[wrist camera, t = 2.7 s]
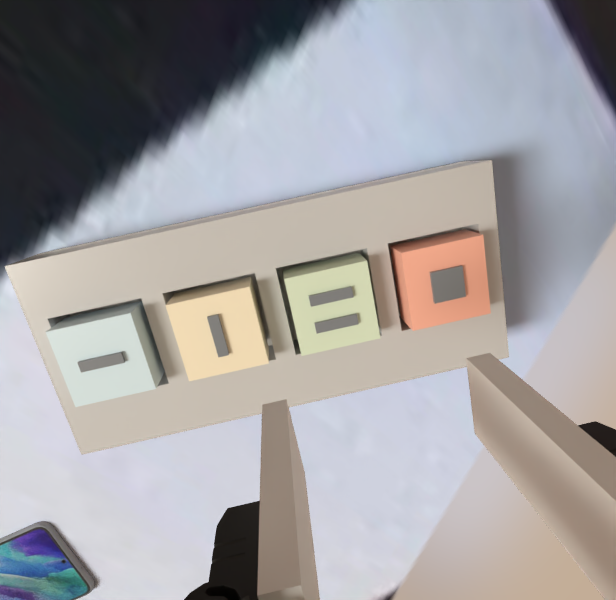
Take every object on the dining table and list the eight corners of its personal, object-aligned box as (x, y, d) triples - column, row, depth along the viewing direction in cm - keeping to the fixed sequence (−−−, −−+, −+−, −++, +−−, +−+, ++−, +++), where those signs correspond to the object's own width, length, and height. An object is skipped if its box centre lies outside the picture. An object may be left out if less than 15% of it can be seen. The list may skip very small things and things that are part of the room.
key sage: (298, 340, 28) (301, 357, 26) (282, 269, 27) (284, 279, 24) (371, 324, 28) (381, 339, 26) (358, 252, 27) (367, 261, 25)
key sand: (195, 364, 28) (188, 383, 26) (174, 293, 27) (164, 306, 24) (268, 347, 28) (268, 364, 26) (251, 276, 27) (249, 287, 24)
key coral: (401, 317, 28) (413, 332, 26) (389, 245, 27) (402, 253, 25) (472, 301, 29) (492, 314, 26) (465, 229, 27) (485, 235, 25)
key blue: (91, 387, 28) (73, 408, 26) (64, 317, 27) (43, 333, 24) (165, 370, 28) (155, 390, 26) (142, 300, 27) (129, 314, 24)
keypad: (104, 420, 32) (81, 454, 28) (40, 253, 28) (4, 266, 25) (480, 334, 32) (509, 357, 29) (462, 161, 29) (492, 160, 25)
